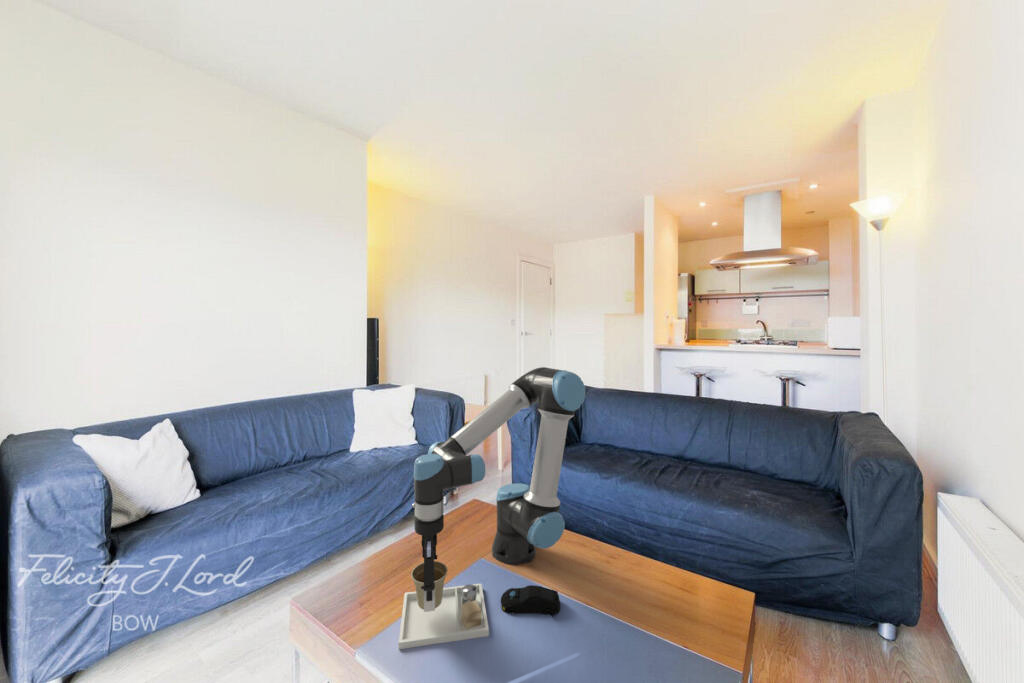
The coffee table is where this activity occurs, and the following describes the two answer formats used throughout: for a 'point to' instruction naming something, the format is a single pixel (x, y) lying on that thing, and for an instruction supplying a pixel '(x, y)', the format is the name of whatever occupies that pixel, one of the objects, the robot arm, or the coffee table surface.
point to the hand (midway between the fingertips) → (429, 596)
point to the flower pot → (439, 578)
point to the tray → (439, 620)
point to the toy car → (530, 600)
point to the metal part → (469, 593)
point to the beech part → (471, 614)
